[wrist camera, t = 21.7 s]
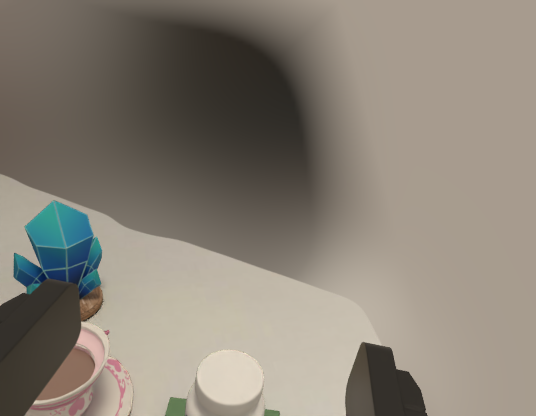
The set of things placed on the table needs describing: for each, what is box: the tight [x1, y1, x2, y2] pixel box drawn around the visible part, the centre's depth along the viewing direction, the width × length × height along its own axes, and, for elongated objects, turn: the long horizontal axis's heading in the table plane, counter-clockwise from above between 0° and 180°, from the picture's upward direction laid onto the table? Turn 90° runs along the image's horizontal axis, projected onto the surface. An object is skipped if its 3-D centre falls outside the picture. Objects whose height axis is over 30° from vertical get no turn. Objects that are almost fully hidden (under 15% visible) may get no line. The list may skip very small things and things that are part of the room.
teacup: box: [24, 321, 133, 416], centre depth 33 cm, size 12×12×6 cm
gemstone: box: [14, 200, 103, 321], centre depth 42 cm, size 7×9×12 cm
